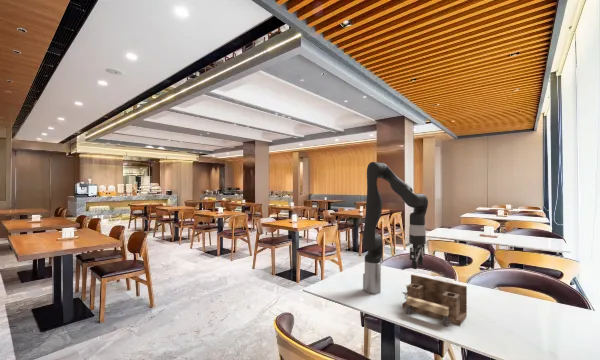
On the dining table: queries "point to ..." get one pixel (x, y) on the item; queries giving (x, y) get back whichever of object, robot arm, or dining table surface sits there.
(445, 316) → the oak rail
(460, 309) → the wooden pen holder stand
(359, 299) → the dining table surface
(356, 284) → the dining table surface
